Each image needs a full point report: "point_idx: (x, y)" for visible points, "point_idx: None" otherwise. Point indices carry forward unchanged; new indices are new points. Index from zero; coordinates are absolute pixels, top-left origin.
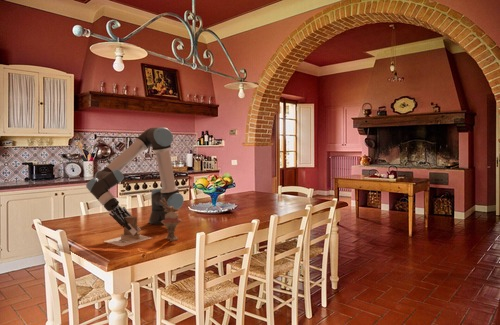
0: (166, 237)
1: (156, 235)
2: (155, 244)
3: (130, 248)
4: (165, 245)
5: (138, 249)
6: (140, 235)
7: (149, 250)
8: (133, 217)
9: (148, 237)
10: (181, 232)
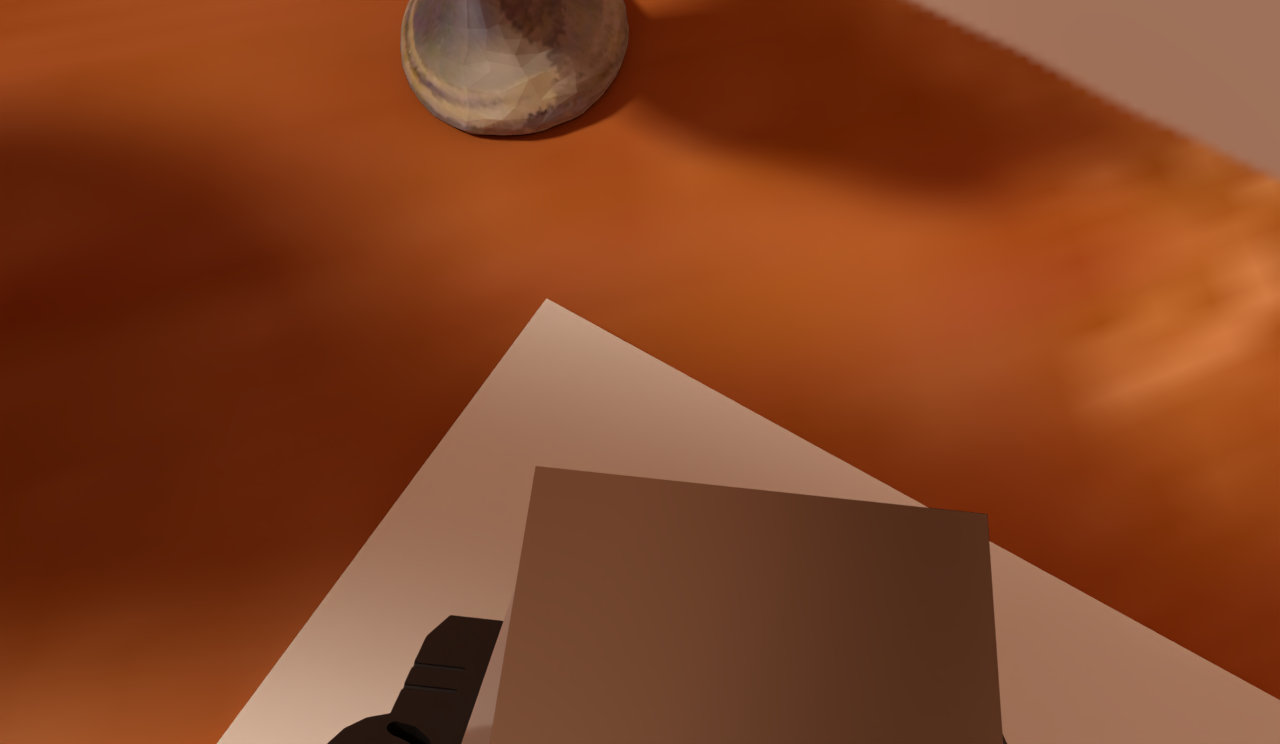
0: (542, 67)
1: (194, 351)
2: (835, 192)
3: (1193, 539)
4: (859, 45)
5: (1194, 367)
6: (336, 637)
7: (1178, 183)
8: (767, 596)
9: (523, 387)
10: (37, 2)
